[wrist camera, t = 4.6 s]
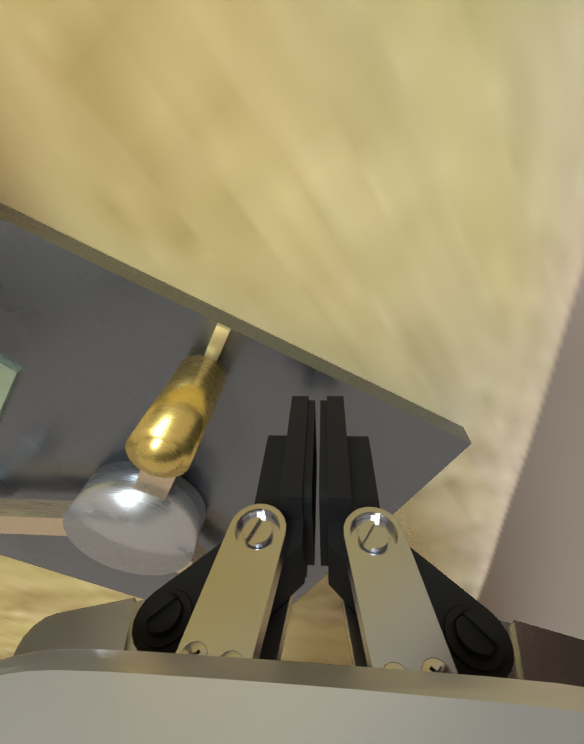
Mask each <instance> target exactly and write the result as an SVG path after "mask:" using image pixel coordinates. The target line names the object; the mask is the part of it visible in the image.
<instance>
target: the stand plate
mask: <svg viewBox="0 0 584 744" xmlns="http://www.w3.org/2000/svg"><path fill="white" fill-rule="evenodd" d="M192 355H203V356H207V357H209V358H211V359H213V360H215V361H216V362H217V363H218V364H219V365H220V366H221V367H222V368H223V370H224V372H225V375H226V383H225V386H224V388H223V391H222V393H221V395H220V398H219V400H218V402H217V405H216V407H215V409H214V411H213V414H212V416H211V418H210V421H209V423H208V425H207V428H206V430H205V432H204V435H203V437H202V439H201V441H200V444H199V446H198V448H197V451H196V453H195V455H194V458H193V460H192V462H191V465H190V467H189V469H188V470H187V471H186V472H185V473H184V474H182V475H180V476H181V477H182V478H184V479H185V480H186V481H188V482H189V483H190V484H191V485H192V486H193V487H194V488H195V489H196V490H197V491H198V492H199V494H200V495H201V497H202V499H203V501H204V503H205V507H206V517H205V520H204V524H203V527H202V530H201V533H200V536H199V539H198V542H197V543H198V544H199V545H200V546H202V547H203V548H204V549H205V550H207V551H208V552H209V551H211V550H212V549H213V548H215V547H216V546H217V545H219V544H220V543H221V542H223V539H224V537H225V535H226V532H227V530H228V528H229V525H230V523H231V521H232V520H233V518H234V516H235V515H236V514H237V513H238V512H240V511H241V510H242V509H244V508H246V507H248V506H250V505H254V503H255V498H256V493H257V488H258V483H259V478H260V473H261V468H262V463H263V458H264V453H265V448H266V443H267V439H268V436H269V435H287V431H288V423H289V416H290V408H291V401H292V396H309V400H315V411H316V446H317V486H316V531H315V566H314V565H307V577H305V583H304V584H303V585H302V586H301V587H300V588H299V589H298V590H297V591H296V592H295V593H294V594H293V602H292V605H293V604H294V603H295V602H296V601H297V600H298V599H299V598H301V597H302V596H303V595H304V594H305V593H306V592H307V591H308V590H309V589H311V588H312V587H313V586H314V585H315V584H316V583H317V582H318V581H319V580H321V579H322V578H323V577H324V576H325V575H326V574H327V573H328V566H321V557H320V519H319V457H320V400H327V396H343V397H344V409H345V421H346V433H347V436H368V438H369V442H370V448H371V454H372V461H373V467H374V473H375V479H376V486H377V492H378V498H379V504H380V509H383V510H385V511H387V512H388V513H390V514H392V515H393V514H394V513H395V512H396V511H397V510H398V509H399V508H400V507H402V506H403V505H404V504H405V503H406V502H407V501H408V500H409V499H410V498H412V497H413V496H414V495H415V494H416V493H417V492H418V491H419V490H420V489H422V488H423V487H424V486H425V485H426V484H427V483H428V482H429V481H430V480H432V479H433V478H434V477H435V476H436V475H437V474H438V473H439V472H440V471H441V470H443V469H444V468H445V467H446V466H447V465H448V464H449V463H450V462H451V461H453V460H454V459H455V458H456V457H457V456H458V455H459V454H460V453H461V452H463V451H464V450H465V449H466V448H467V447H468V446H469V445H470V444H471V441H470V440H469V438H468V436H467V434H466V432H465V430H464V428H463V427H461V426H459V425H457V424H455V423H453V422H451V421H449V420H447V419H445V418H443V417H441V416H439V415H437V414H435V413H432V412H430V411H428V410H426V409H424V408H422V407H420V406H418V405H416V404H414V403H412V402H410V401H408V400H406V399H404V398H401V397H399V396H397V395H395V394H393V393H391V392H389V391H387V390H385V389H383V388H381V387H379V386H377V385H375V384H373V383H370V382H368V381H366V380H364V379H362V378H360V377H358V376H356V375H354V374H352V373H350V372H348V371H346V370H344V369H342V368H339V367H337V366H335V365H333V364H331V363H329V362H327V361H325V360H323V359H321V358H319V357H317V356H315V355H313V354H311V353H308V352H306V351H304V350H302V349H300V348H298V347H296V346H294V345H292V344H290V343H288V342H286V341H284V340H282V339H280V338H277V337H275V336H273V335H271V334H269V333H267V332H265V331H263V330H261V329H259V328H257V327H255V326H253V325H251V324H249V323H246V322H244V321H242V320H240V319H238V318H236V317H234V316H232V315H230V314H228V313H226V312H224V311H222V310H220V309H218V308H215V307H213V306H211V305H209V304H207V303H205V302H203V301H201V300H199V299H197V298H195V297H193V296H191V295H189V294H187V293H184V292H182V291H180V290H178V289H176V288H174V287H172V286H170V285H168V284H166V283H164V282H162V281H160V280H158V279H155V278H153V277H151V276H149V275H147V274H145V273H143V272H141V271H139V270H137V269H135V268H133V267H131V266H129V265H127V264H124V263H122V262H120V261H118V260H116V259H114V258H112V257H110V256H108V255H106V254H104V253H102V252H100V251H98V250H96V249H93V248H91V247H89V246H87V245H85V244H83V243H81V242H79V241H77V240H75V239H73V238H71V237H69V236H67V235H65V234H62V233H60V232H58V231H56V230H54V229H52V228H50V227H48V226H46V225H44V224H42V223H40V222H38V221H36V220H34V219H31V218H29V217H27V216H25V215H23V214H21V213H19V212H17V211H15V210H13V209H11V208H9V207H7V206H5V205H3V204H0V498H6V499H40V500H74V499H75V498H76V497H77V495H78V494H79V493H80V491H81V490H82V488H83V487H84V486H85V484H86V483H87V482H88V480H89V479H90V477H91V476H92V475H93V473H94V472H95V471H96V470H97V469H99V468H101V467H102V466H104V465H107V464H110V463H113V462H119V461H131V460H130V459H129V458H128V456H127V453H126V449H125V445H126V441H127V439H128V438H129V436H130V435H131V434H132V432H133V431H134V429H135V428H136V426H137V425H138V423H139V422H140V421H141V419H142V418H143V416H144V415H145V413H146V412H147V411H148V409H149V408H150V406H151V405H152V403H153V402H154V400H155V399H156V398H157V396H158V395H159V393H160V392H161V390H162V389H163V387H164V386H165V385H166V383H167V382H168V380H169V379H170V377H171V376H172V374H173V373H174V372H175V370H176V369H177V367H178V366H179V364H180V363H181V362H182V361H183V360H184V359H185V358H187V357H189V356H192ZM0 555H3V556H6V557H10V558H13V559H16V560H19V561H23V562H26V563H29V564H32V565H35V566H39V567H42V568H45V569H48V570H51V571H55V572H58V573H61V574H64V575H68V576H71V577H74V578H77V579H80V580H84V581H87V582H90V583H93V584H97V585H100V586H103V587H106V588H109V589H113V590H116V591H119V592H122V593H125V594H129V595H132V596H135V597H138V598H142V599H145V600H146V599H147V598H148V597H149V596H150V595H152V594H153V593H154V592H155V591H156V590H158V589H159V588H160V587H162V586H163V585H164V584H166V583H167V582H169V581H170V580H171V579H173V578H174V577H175V576H177V575H178V573H177V572H173V573H170V574H165V575H138V574H132V573H127V572H123V571H120V570H116V569H113V568H111V567H108V566H106V565H103V564H101V563H99V562H97V561H95V560H93V559H92V558H90V557H89V556H87V555H86V554H84V553H83V552H82V551H80V550H79V549H78V548H77V547H76V546H75V545H74V544H73V543H72V542H71V541H70V539H69V538H68V536H54V535H29V534H4V533H0Z"/></svg>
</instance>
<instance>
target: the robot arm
mask: <svg viewBox="0 0 584 744" xmlns="http://www.w3.org/2000/svg"><path fill="white" fill-rule="evenodd" d="M316 486H317V446H316V411H315V400H309V396H292V401H291V408H290V416H289V423H288V431H287V435H269V436H268V439H267V443H266V448H265V453H264V458H263V463H262V468H261V473H260V478H259V483H258V488H257V493H256V498H255V503H254V505H250V506H248V507H246V508H244V509H242V510H241V511H240V512H238V513H237V514H236V515H235V516H234V518H233V520H232V521H231V523H230V525H229V528H228V530H227V532H226V535H225V537H224V539H223V542H221V543H220V544H219V545H217V546H216V547H215V548H213V549H212V550H211V551H209V552H208V553H207V554H205V555H204V556H202V557H201V558H200V559H198V560H197V561H196V562H194V563H193V564H192V565H190V566H189V567H188V568H186V569H185V570H183V571H182V572H181V573H179V574H178V575H177V576H175V577H174V578H173V579H171V580H170V581H169V582H167V583H166V584H164V585H163V586H162V587H160V588H159V589H158V590H156V591H155V592H154V593H153V594H152V595H150V596H149V597H148V598H147V599H146V600H141V601H136V599H135V598H131V599H126V600H121V601H116V602H111V603H106V604H101V605H96V606H91V607H86V608H81V609H76V610H71V611H66V612H61V613H56V614H54V615H51V616H48V617H46V618H44V619H43V620H41V621H40V622H39V623H37V624H36V625H34V626H33V627H32V628H31V629H30V631H29V632H28V633H27V634H26V635H25V636H24V637H23V639H22V640H21V642H20V644H19V645H18V647H17V649H16V651H15V653H14V656H12V657H9V658H6V659H2V660H0V744H584V640H582V639H578V638H575V637H571V636H568V635H564V634H561V633H558V632H554V631H551V630H548V629H544V628H540V627H537V626H534V625H530V624H527V623H523V622H520V621H516V620H513V622H512V623H509V622H505V621H502V620H499V619H497V618H496V617H495V616H494V615H493V614H492V613H491V612H490V611H489V610H488V609H487V608H485V607H484V606H483V605H482V604H480V603H479V602H478V601H477V600H475V599H474V598H473V597H472V596H470V595H469V594H468V593H467V592H465V591H464V590H463V589H462V588H460V587H459V586H458V585H457V584H455V583H454V582H453V581H452V580H450V579H449V578H448V577H447V576H446V575H444V574H443V573H442V572H441V571H439V570H438V569H437V568H436V567H434V566H433V565H432V564H431V563H429V562H428V561H427V560H426V559H424V558H423V557H422V556H421V555H419V554H418V553H417V552H416V551H414V550H413V549H412V548H411V547H410V546H409V543H408V541H407V538H406V535H405V533H404V530H403V528H402V526H401V525H400V523H399V521H398V520H397V519H396V518H395V517H394V516H393V515H392V514H390V513H388V512H387V511H385V510H383V509H380V504H379V498H378V492H377V486H376V479H375V473H374V467H373V461H372V454H371V448H370V442H369V438H368V436H347V433H346V421H345V409H344V397H343V396H327V400H320V457H319V519H320V557H321V566H328V576H329V585H330V586H331V587H332V588H333V589H334V590H335V591H336V593H337V594H338V595H339V596H340V597H341V598H342V608H343V613H344V619H345V625H346V630H347V636H348V642H349V647H350V653H351V658H352V664H353V666H346V665H333V664H319V663H306V662H292V661H280V660H281V655H282V650H283V645H284V641H285V636H286V631H287V626H288V621H289V617H290V612H291V607H292V602H293V594H294V593H295V592H296V591H297V590H298V589H299V588H300V587H301V586H302V585H303V584H304V583H305V577H307V565H314V566H315V531H316Z"/></svg>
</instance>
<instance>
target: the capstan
mask: <svg viewBox="0 0 584 744" xmlns="http://www.w3.org/2000/svg"><path fill="white" fill-rule="evenodd" d="M225 383H226V375H225V372H224V370H223V368H222V367H221V366H220V365H219V364H218V363H217V362H216V361H215V360H213V359H211V358H209V357H207V356H203V355H192V356H189V357H187V358H185V359H184V360H183V361H182V362H181V363H180V364H179V366H178V367H177V369H176V370H175V372H174V373H173V374H172V376H171V377H170V379H169V380H168V382H167V383H166V385H165V386H164V387H163V389H162V390H161V392H160V393H159V395H158V396H157V398H156V399H155V400H154V402H153V403H152V405H151V406H150V408H149V409H148V411H147V412H146V413H145V415H144V416H143V418H142V419H141V421H140V422H139V423H138V425H137V426H136V428H135V429H134V431H133V432H132V434H131V435H130V436H129V438H128V439H127V441H126V445H125V449H126V453H127V456H128V458H129V459H130V460H131V461H119V462H113V463H110V464H107V465H104V466H102V467H101V468H99V469H97V470H96V471H95V472H94V473H93V475H92V476H91V477H90V479H89V480H88V482H87V483H86V484H85V486H84V487H83V488H82V490H81V491H80V493H79V494H78V495H77V497H76V498H75V499H74V500H40V499H6V498H0V533H4V534H29V535H54V536H68V538H69V539H70V541H71V542H72V543H73V544H74V545H75V546H76V547H77V548H78V549H79V550H80V551H82V552H83V553H84V554H86V555H87V556H89V557H90V558H92V559H93V560H95V561H97V562H99V563H101V564H103V565H106V566H108V567H111V568H113V569H116V570H120V571H123V572H127V573H132V574H138V575H165V574H170V573H173V572H177V573H178V574H179V573H181V572H182V571H183V570H185V569H186V568H188V567H189V566H190V565H192V564H193V563H194V562H196V561H197V560H198V559H200V558H201V557H202V556H204V555H205V554H207V553H208V551H207V550H205V549H204V548H203V547H202V546H200V545H199V544H198V543H197V542H198V539H199V536H200V533H201V530H202V527H203V524H204V520H205V517H206V507H205V503H204V501H203V499H202V497H201V495H200V494H199V492H198V491H197V490H196V489H195V488H194V487H193V486H192V485H191V484H190V483H189V482H188V481H186V480H185V479H184V478H182V477H181V476H180V475H182V474H184V473H185V472H186V471H187V470H188V469H189V467H190V465H191V462H192V460H193V458H194V455H195V453H196V451H197V448H198V446H199V444H200V441H201V439H202V437H203V435H204V432H205V430H206V428H207V425H208V423H209V421H210V418H211V416H212V414H213V411H214V409H215V407H216V405H217V402H218V400H219V398H220V395H221V393H222V391H223V388H224V386H225Z"/></svg>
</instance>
